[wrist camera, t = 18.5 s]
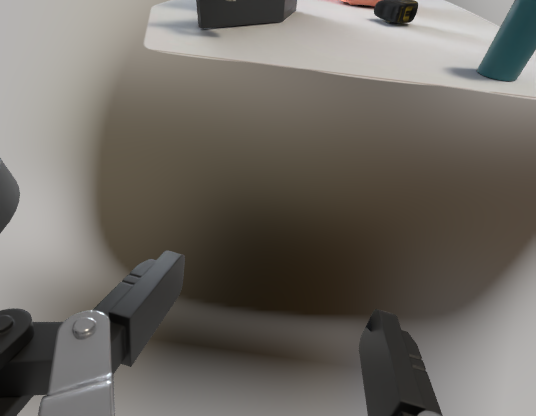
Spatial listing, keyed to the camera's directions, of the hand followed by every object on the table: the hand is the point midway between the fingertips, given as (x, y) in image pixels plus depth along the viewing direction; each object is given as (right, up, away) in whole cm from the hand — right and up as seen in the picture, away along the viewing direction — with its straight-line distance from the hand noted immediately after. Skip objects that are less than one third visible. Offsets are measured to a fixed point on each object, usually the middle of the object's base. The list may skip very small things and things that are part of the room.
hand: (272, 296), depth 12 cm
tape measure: (+24, +40, +44) cm, 65 cm away
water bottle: (+28, +20, +24) cm, 42 cm away
